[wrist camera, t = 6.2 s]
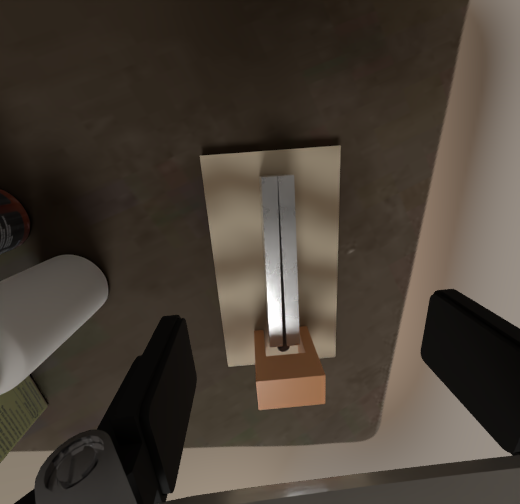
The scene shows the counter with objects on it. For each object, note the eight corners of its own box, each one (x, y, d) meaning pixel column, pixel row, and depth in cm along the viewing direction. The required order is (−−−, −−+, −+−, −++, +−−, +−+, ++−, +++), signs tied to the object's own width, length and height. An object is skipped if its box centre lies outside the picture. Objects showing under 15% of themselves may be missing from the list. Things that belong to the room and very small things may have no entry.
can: (108, 316, 27) (8, 424, 16) (43, 305, 26) (-113, 410, 15) (112, 260, 25) (1, 336, 14) (42, 246, 24) (-138, 314, 13)
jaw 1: (278, 324, 27) (282, 346, 24) (267, 325, 27) (269, 347, 24) (273, 175, 22) (277, 176, 19) (259, 175, 22) (261, 177, 19)
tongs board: (332, 350, 30) (343, 373, 26) (228, 360, 29) (226, 384, 26) (336, 146, 23) (351, 142, 20) (201, 156, 23) (193, 154, 19)
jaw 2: (293, 323, 27) (299, 344, 24) (282, 324, 27) (287, 346, 24) (287, 173, 22) (294, 174, 19) (273, 175, 22) (277, 176, 19)
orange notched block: (307, 349, 28) (325, 403, 22) (256, 354, 28) (258, 410, 21) (306, 325, 27) (325, 375, 21) (253, 330, 27) (255, 381, 21)
